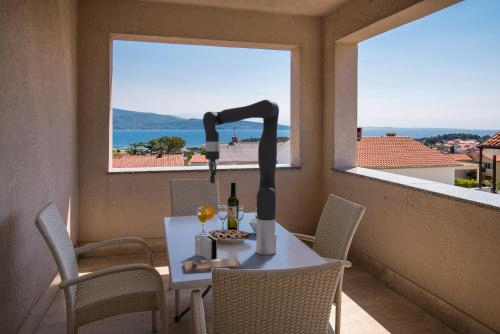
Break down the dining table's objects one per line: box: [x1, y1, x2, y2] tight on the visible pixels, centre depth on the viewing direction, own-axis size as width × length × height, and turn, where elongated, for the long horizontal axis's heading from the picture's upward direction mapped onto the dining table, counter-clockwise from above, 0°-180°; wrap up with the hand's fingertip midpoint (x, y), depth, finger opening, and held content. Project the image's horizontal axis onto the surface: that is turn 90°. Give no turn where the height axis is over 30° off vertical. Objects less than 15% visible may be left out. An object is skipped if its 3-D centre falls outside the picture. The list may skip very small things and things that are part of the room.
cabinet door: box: [183, 257, 242, 274], centre depth 166 cm, size 24×10×3 cm, turn 104°
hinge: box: [194, 234, 218, 260], centre depth 178 cm, size 14×5×10 cm, turn 44°
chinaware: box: [249, 217, 257, 235], centre depth 223 cm, size 15×15×8 cm
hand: (212, 183), depth 198 cm, fingers closed
